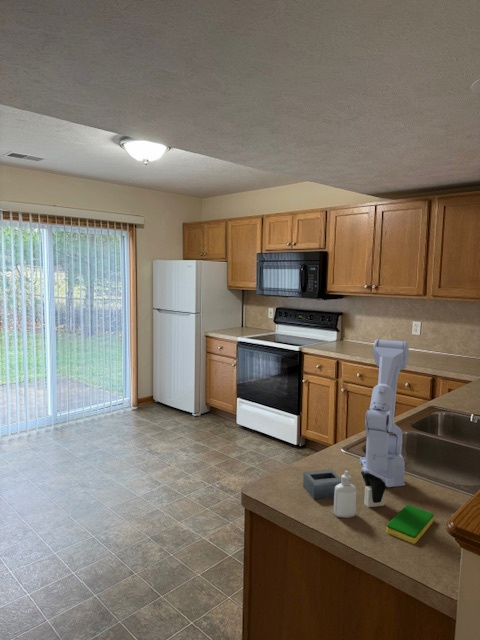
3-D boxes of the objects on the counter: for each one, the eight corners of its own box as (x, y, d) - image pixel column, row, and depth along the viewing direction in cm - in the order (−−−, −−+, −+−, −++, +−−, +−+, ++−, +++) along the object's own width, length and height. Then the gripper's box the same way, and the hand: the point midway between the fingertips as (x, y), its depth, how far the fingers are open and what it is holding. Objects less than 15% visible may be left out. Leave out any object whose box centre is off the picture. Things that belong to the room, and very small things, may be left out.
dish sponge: (385, 533, 109) (386, 524, 109) (406, 512, 120) (407, 503, 119) (414, 546, 105) (415, 536, 104) (433, 522, 115) (434, 513, 115)
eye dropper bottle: (353, 521, 114) (356, 476, 113) (332, 516, 116) (334, 472, 115) (356, 512, 118) (358, 469, 117) (335, 508, 120) (337, 465, 119)
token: (380, 501, 124) (381, 484, 124) (384, 505, 122) (385, 488, 122) (364, 503, 123) (365, 486, 123) (367, 507, 121) (368, 489, 121)
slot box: (330, 483, 135) (331, 469, 134) (342, 496, 127) (343, 480, 126) (303, 486, 132) (303, 471, 132) (313, 499, 125) (314, 483, 124)
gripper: (350, 443, 127) (348, 488, 129) (378, 464, 113) (375, 514, 115) (372, 442, 129) (370, 486, 130) (402, 462, 115) (399, 511, 116)
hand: (374, 499), depth 122 cm, fingers closed on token, 2 cm apart
